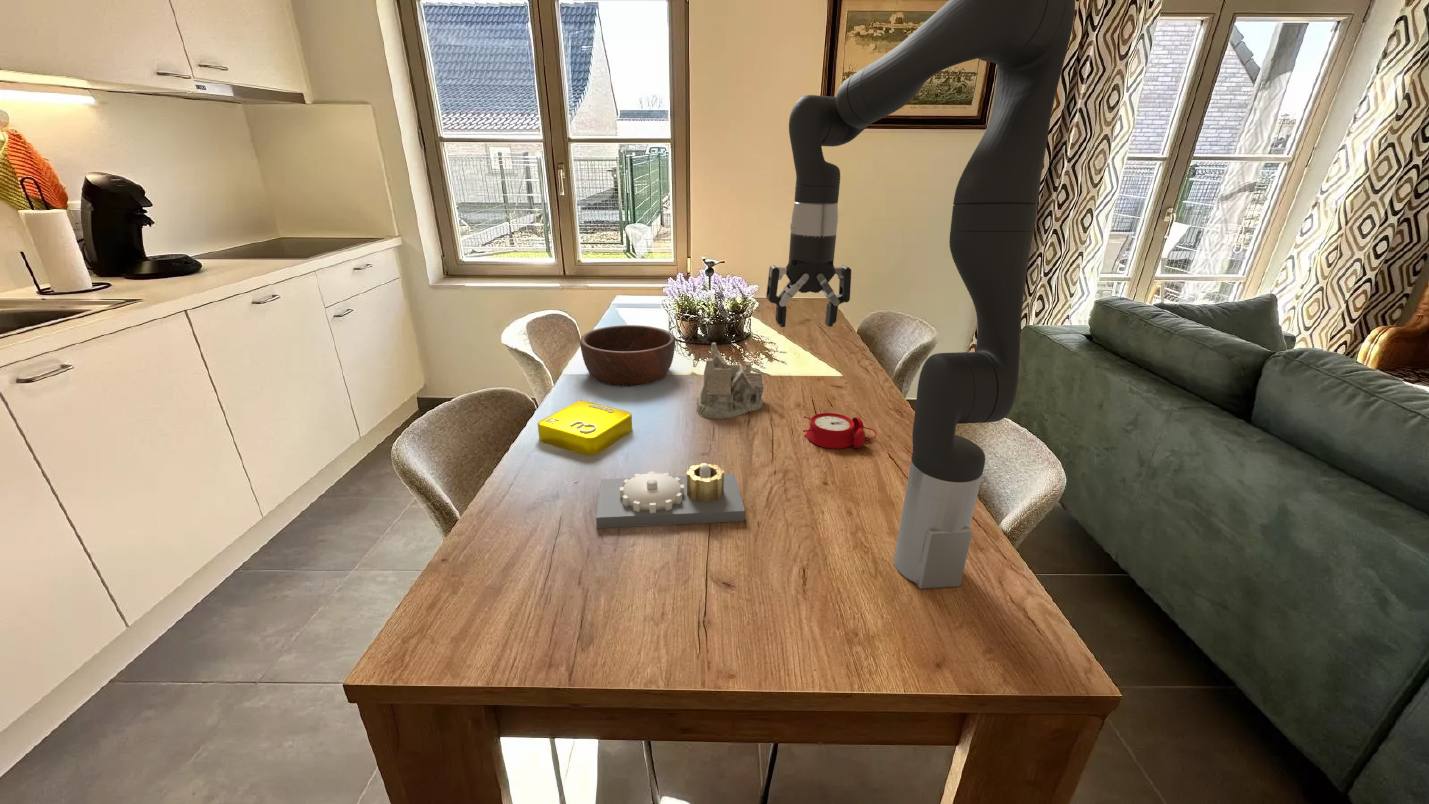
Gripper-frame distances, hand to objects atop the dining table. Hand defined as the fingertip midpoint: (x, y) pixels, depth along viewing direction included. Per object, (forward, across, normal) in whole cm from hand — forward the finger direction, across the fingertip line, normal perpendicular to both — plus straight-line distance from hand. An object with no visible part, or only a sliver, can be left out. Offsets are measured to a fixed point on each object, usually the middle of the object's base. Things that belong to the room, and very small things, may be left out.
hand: (805, 325), depth 105 cm
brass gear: (+26, -19, -12) cm, 34 cm away
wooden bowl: (+28, -32, +54) cm, 69 cm away
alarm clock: (+28, +12, +11) cm, 33 cm away
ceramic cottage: (+28, -8, +30) cm, 42 cm away
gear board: (+28, -25, -12) cm, 39 cm away
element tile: (+29, -41, +17) cm, 53 cm away
